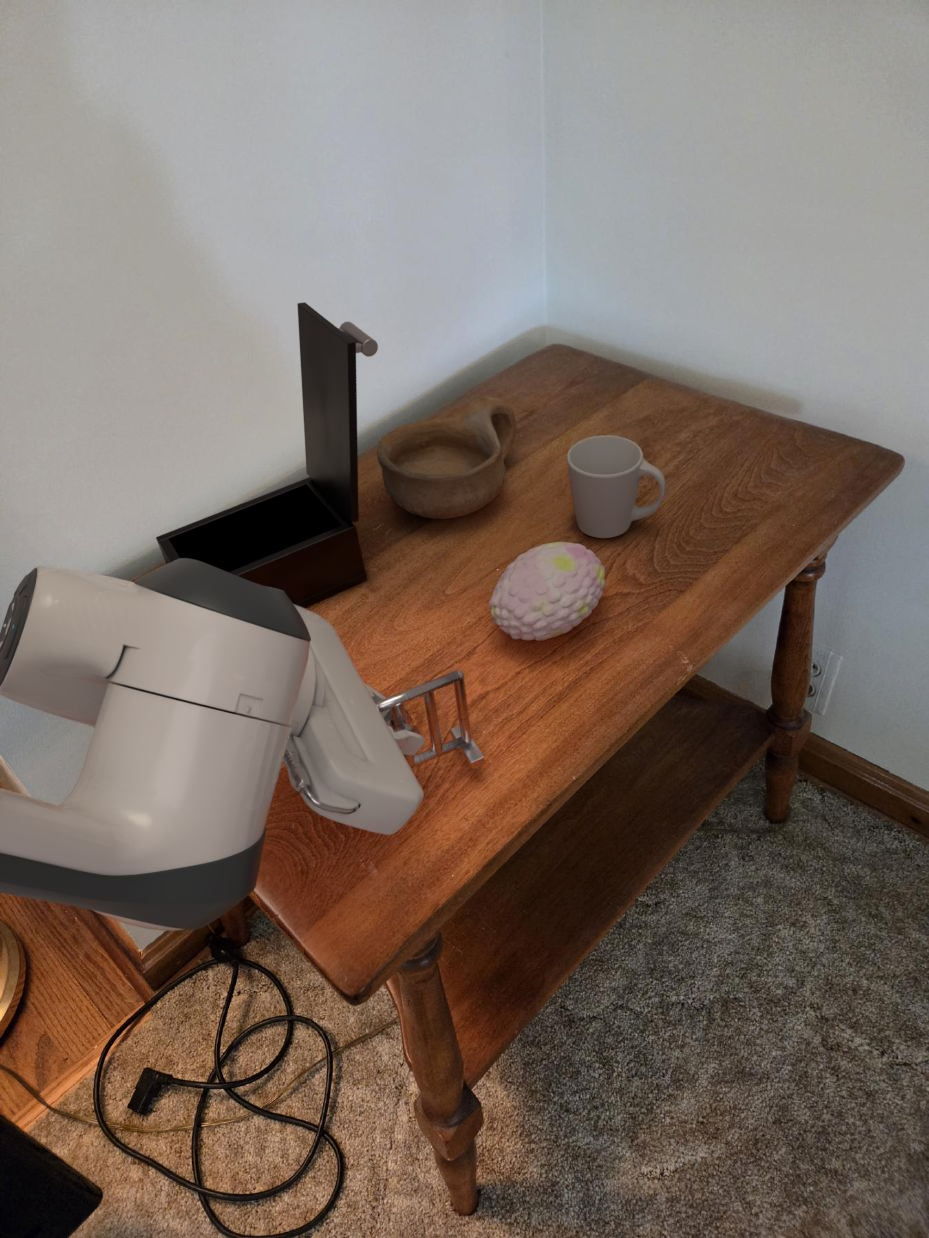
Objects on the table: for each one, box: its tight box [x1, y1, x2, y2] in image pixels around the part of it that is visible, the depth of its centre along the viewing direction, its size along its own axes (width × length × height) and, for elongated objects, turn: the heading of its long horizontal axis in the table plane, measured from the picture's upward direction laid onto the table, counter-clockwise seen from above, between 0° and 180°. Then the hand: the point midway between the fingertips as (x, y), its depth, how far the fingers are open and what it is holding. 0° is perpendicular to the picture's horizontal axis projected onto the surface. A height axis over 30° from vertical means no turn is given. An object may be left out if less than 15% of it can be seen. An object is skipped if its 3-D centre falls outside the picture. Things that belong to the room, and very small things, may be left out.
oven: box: [155, 476, 368, 609], centre depth 92 cm, size 17×11×7 cm, turn 121°
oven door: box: [296, 302, 379, 523], centre depth 87 cm, size 18×11×4 cm
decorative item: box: [488, 541, 606, 642], centre depth 84 cm, size 9×11×10 cm
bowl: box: [376, 396, 517, 520], centre depth 101 cm, size 18×14×10 cm
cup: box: [566, 434, 667, 539], centre depth 93 cm, size 8×10×8 cm
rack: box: [375, 669, 486, 770], centre depth 69 cm, size 11×4×9 cm, turn 115°
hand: (410, 730), depth 69 cm, fingers closed on rack
